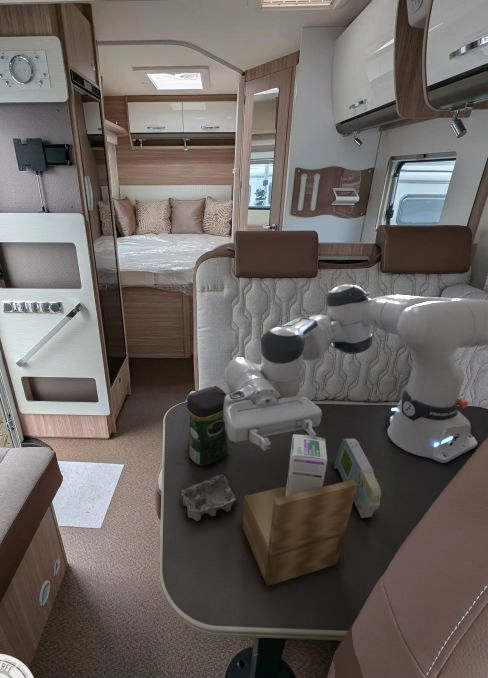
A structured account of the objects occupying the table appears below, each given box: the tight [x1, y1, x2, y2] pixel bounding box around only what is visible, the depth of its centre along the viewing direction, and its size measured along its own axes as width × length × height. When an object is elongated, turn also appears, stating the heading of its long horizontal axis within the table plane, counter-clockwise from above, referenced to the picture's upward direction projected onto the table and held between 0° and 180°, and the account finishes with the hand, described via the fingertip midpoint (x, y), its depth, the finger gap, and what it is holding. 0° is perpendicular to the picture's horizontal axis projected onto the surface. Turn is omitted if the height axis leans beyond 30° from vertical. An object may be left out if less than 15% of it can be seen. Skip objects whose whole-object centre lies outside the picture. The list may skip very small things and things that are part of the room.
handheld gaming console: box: [333, 438, 382, 519], centre depth 79 cm, size 11×3×15 cm
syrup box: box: [286, 433, 328, 496], centre depth 64 cm, size 6×6×14 cm
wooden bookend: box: [242, 480, 357, 587], centre depth 65 cm, size 14×12×20 cm
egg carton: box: [180, 473, 237, 522], centre depth 78 cm, size 11×8×4 cm
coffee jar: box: [186, 385, 228, 467], centre depth 88 cm, size 10×8×19 cm
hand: (290, 442), depth 68 cm, fingers open, 8 cm apart
